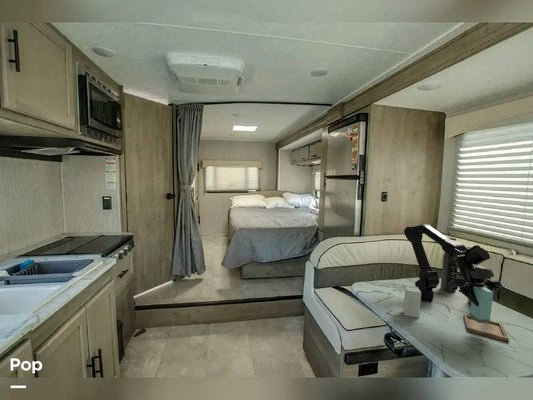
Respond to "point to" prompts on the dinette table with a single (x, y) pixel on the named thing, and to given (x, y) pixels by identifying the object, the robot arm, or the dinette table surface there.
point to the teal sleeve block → (482, 305)
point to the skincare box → (412, 302)
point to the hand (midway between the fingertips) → (483, 306)
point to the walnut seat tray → (486, 328)
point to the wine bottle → (448, 271)
